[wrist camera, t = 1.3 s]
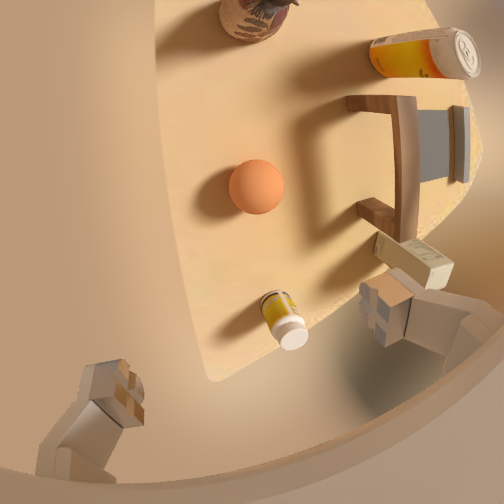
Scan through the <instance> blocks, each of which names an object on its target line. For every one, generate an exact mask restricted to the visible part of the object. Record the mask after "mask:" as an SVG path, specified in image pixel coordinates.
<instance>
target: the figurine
mask: <svg viewBox="0 0 504 504" xmlns="http://www.w3.org/2000/svg"><path fill="white" fill-rule="evenodd" d="M291 3H293V4H295V5H297V6H299V4H300V2H299V0H223V1H222V2H221V5H220V8H219V21H220V23H221V25H222V27H223V29H224V30H225V31H226V32H227V33H228V34H229V35H231V36H233V37H234V38H236V39H238V40H241V41H247V42H258V41H263V40H266V39H267V38H269V37H271V36H272V35H274V34H275V33H276V32H277V31H278V30H279V29H280V27H281V26H282V23H283V21H284V20H285V18H286V17H287V14H288V11H289V5H290V4H291Z"/></svg>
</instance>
